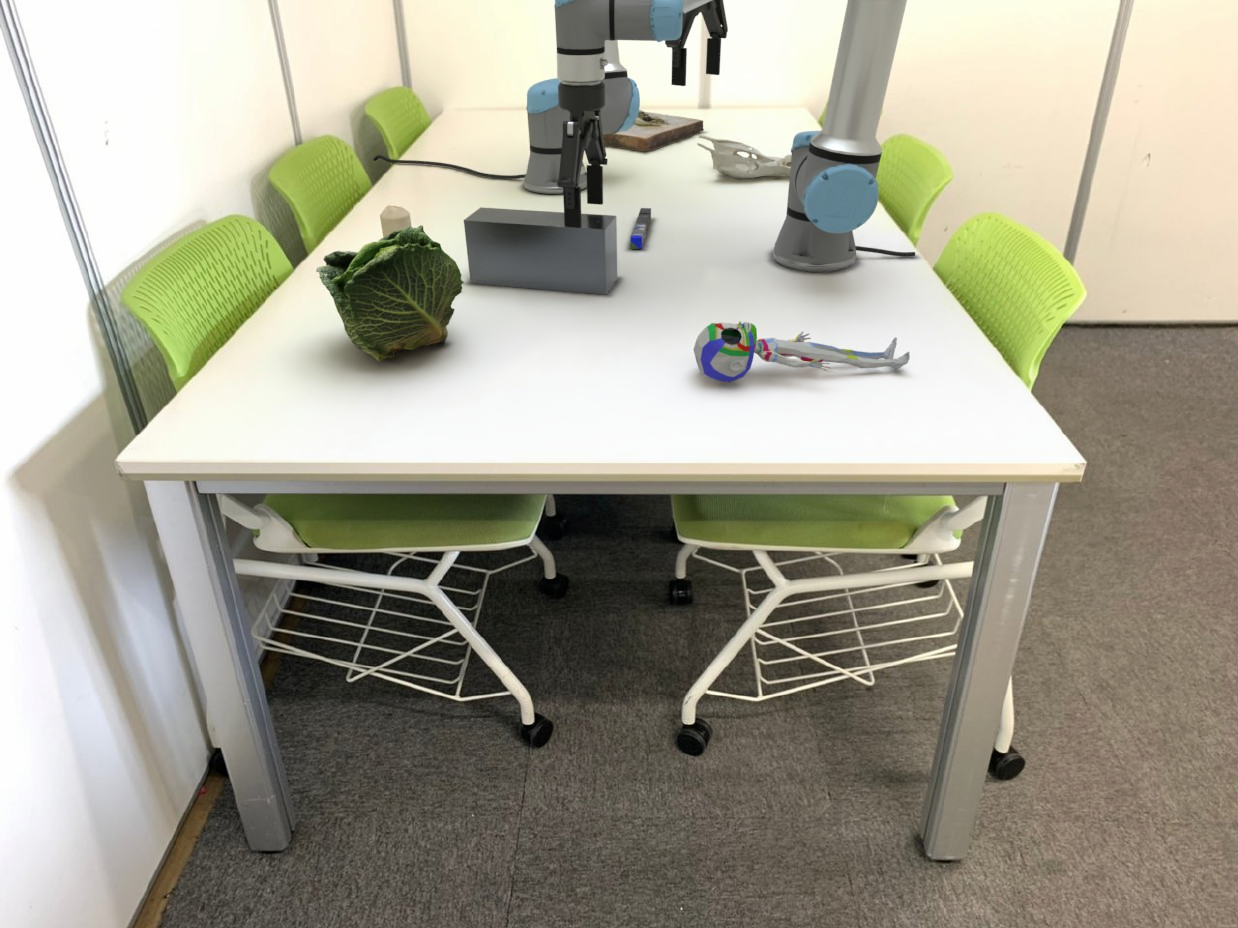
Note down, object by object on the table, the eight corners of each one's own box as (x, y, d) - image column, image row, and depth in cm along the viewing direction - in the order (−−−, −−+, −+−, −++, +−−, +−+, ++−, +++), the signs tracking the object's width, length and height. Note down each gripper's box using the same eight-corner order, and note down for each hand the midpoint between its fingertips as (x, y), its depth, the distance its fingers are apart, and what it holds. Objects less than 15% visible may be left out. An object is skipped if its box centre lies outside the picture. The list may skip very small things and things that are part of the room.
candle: (421, 255, 174) (414, 203, 169) (406, 264, 170) (398, 212, 164) (396, 252, 176) (388, 201, 170) (381, 261, 171) (372, 209, 166)
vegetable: (383, 372, 146) (305, 267, 139) (481, 306, 148) (409, 199, 140) (387, 399, 128) (297, 280, 120) (499, 324, 129) (417, 201, 122)
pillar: (651, 208, 191) (641, 238, 174) (650, 218, 192) (641, 249, 175) (640, 208, 191) (630, 238, 174) (640, 218, 192) (630, 249, 175)
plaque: (647, 125, 237) (559, 112, 252) (647, 153, 241) (560, 139, 256) (706, 107, 258) (622, 97, 273) (705, 133, 262) (622, 121, 277)
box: (470, 283, 161) (463, 220, 155) (486, 268, 168) (480, 207, 161) (606, 294, 156) (604, 229, 150) (617, 279, 162) (616, 215, 156)
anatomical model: (699, 131, 223) (801, 130, 220) (699, 169, 228) (798, 168, 225) (695, 146, 211) (802, 144, 207) (695, 185, 216) (799, 184, 212)
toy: (920, 350, 124) (709, 333, 119) (901, 404, 128) (697, 389, 123) (893, 321, 132) (695, 304, 127) (877, 373, 137) (685, 357, 132)
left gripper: (684, -40, 153) (680, 92, 165) (749, -49, 171) (742, 71, 182) (646, -41, 157) (646, 88, 168) (714, -49, 174) (709, 68, 186)
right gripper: (582, 97, 131) (585, 239, 142) (623, 70, 151) (623, 196, 163) (533, 95, 132) (540, 235, 144) (580, 68, 153) (583, 193, 164)
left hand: (696, 80), depth 175 cm, fingers open, 13 cm apart
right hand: (584, 215), depth 153 cm, fingers open, 13 cm apart
